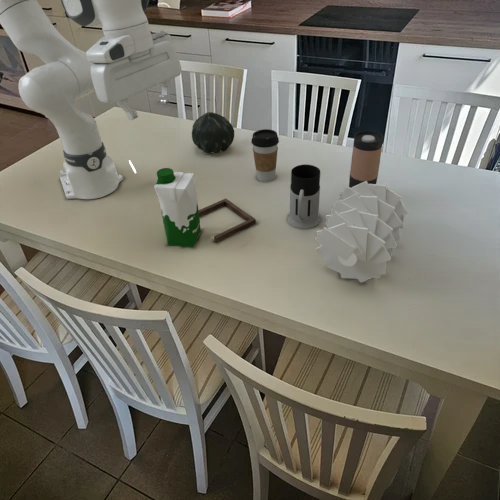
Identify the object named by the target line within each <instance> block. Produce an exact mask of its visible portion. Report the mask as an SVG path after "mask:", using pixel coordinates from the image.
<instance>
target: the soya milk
mask: <svg viewBox="0 0 500 500" xmlns="http://www.w3.org/2000/svg"><path fill="white" fill-rule="evenodd" d="M156 178H157V179H156V182H155V185H154V186H153V188H154V190H155V193H156V195H157V198H158V202H159V207H160V212H161V217H162V222H163V226H164V232H165V239H166V243H167V246H175V247H186V248H194V247H195V245H196V242H197V241H198V238H199V236H200V234H201V232H202V231H201V217H199V211H198V210H199V205H198V197H197V190H196V179H195V173H191V172H190V173H189V172H182V171H174V169H172V168H170V167H163V168H160V169H158V170H157V171H156Z"/></svg>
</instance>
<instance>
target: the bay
mask: <svg viewBox="0 0 500 500" xmlns="http://www.w3.org/2000/svg"><path fill="white" fill-rule="evenodd" d="M223 207H226V208H228V209H229V210H230V211H232V212H233V213H235V214H236V215H238V216H239V217H241V218H242V220H244V221H243V222H241V223H239V224H236V225H234V226H232V227H230V228H228V229H226V230H224V231H222V232H219V233H217V234H215V235H214V236H213V240H214V242H215V243H219V242H221V241H223V240H226V239H227V238H229V237H232V236H235V235H236V234H238V233H240V232H243V231H245V230H247V229H248V228H250V227H252V226H254V225H256V224H257V219H256V218H255V217H253V216H252V215H250V214H249V213H248V212H246V211H244V210H243V209H242V208H240V207H239V206H238V205H236V204H235V203H233V202H232V201H230V200H229V199H227V198H224V199H223V198H222V199H221V200H218V201H217V202H214V203H213V204H209V205H208V206H205V207H203V208H200V209H198V211H199V218H201V217H202V216H205V215H207V214H209V213H211V212H214V211H216V210H218V209H221V208H223Z"/></svg>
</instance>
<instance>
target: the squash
mask: <svg viewBox="0 0 500 500" xmlns="http://www.w3.org/2000/svg"><path fill="white" fill-rule="evenodd" d="M191 139H192V142H193V144H194V145H195V146H196V147H197V148H198V150H201V151H203V152H204V153H205V154H206V155H210V154H212V153H213V154H214V155H217V154H219V153H220V152H226V151H228V149H230V146H231V145H232V144H233V143H234V139H235V129H234V126H233V125H232V123H231V122H230V121H229V120H228V119H227V118H226V117H225V116H223V115H220V114H219V113H216V112H212V111H211V112H205V113H204V114H202V115H201V116H199V117H198V118H197V119H195V121H194V122H193V124H192V128H191Z"/></svg>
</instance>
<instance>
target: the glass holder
mask: <svg viewBox="0 0 500 500" xmlns="http://www.w3.org/2000/svg"><path fill="white" fill-rule="evenodd" d="M290 172H291V173H290V186H289V192H290V193H289V215H288V217H287V221H288V224H290V226H292V227H294V228H297V229H311V228H315V227H316V226H318V224H319V223H320V221H321V218H320V215H319V212H320V194H321V185H320V183H321V169H320V168H319V167H318V166H315V165H313V164H299V165H296V166H294V167H293V168H292V169H291V170H290Z"/></svg>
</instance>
